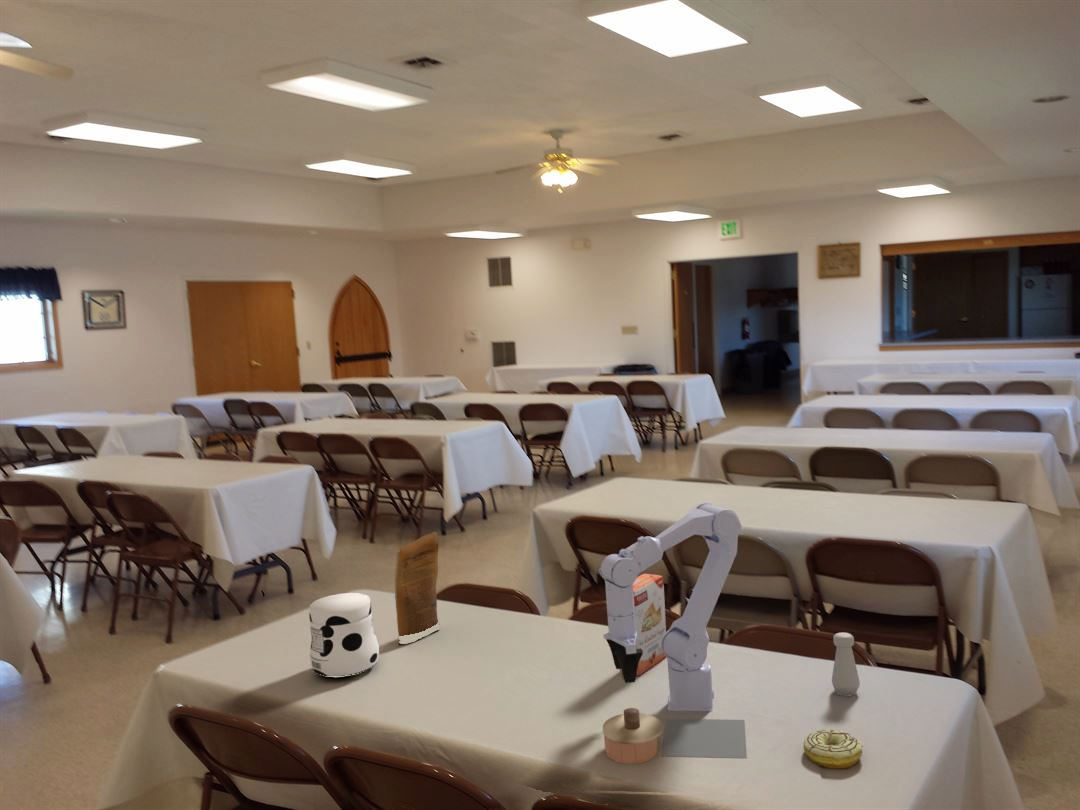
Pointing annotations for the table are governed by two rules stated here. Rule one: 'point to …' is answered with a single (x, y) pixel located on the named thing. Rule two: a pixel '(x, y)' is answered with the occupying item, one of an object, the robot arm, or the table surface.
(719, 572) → the robot arm
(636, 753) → the bowl
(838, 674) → the salt shaker
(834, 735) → the decorated donut
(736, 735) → the mat
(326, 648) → the milk container
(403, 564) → the pancake mix bag
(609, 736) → the lid
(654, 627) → the cracker box
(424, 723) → the table surface
